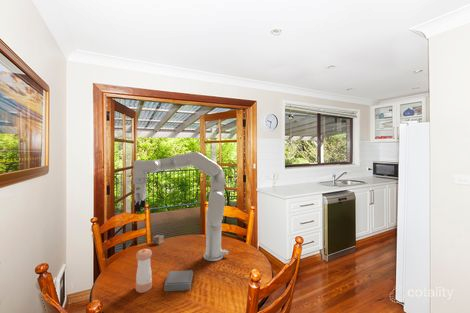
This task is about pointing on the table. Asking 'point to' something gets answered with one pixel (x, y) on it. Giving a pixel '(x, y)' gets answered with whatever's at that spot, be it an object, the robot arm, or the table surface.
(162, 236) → the grey cube
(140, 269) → the pepper shaker
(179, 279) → the slate stand
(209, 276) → the table surface
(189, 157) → the robot arm
